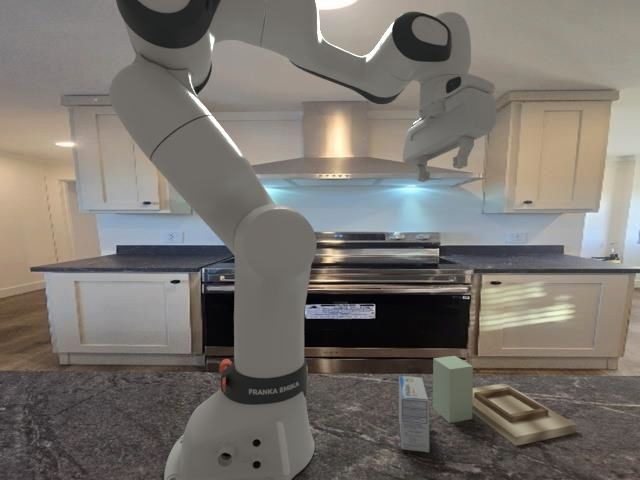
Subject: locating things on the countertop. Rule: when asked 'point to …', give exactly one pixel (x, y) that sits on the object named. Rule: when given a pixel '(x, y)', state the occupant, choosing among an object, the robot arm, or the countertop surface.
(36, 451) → the countertop surface
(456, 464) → the countertop surface
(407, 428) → the medicine box
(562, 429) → the birch board
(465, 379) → the sage block
